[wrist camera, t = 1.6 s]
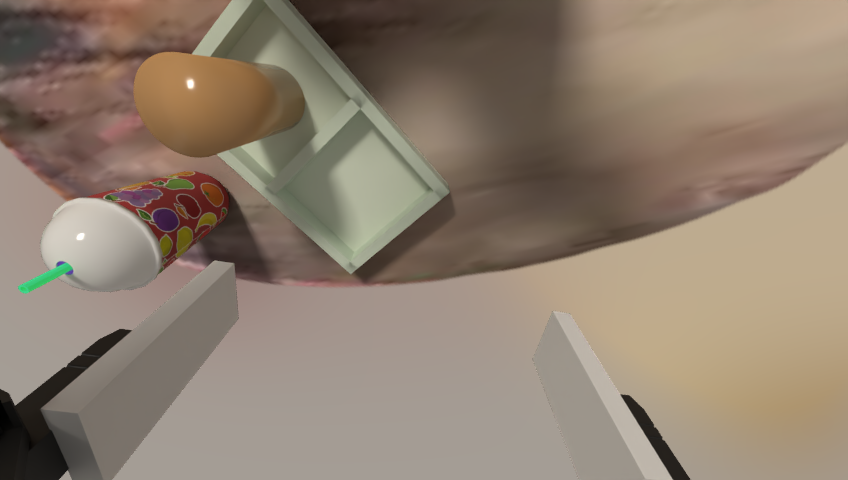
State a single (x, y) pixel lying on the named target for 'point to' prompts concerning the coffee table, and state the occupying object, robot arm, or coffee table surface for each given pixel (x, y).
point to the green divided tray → (325, 140)
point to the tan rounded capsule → (214, 102)
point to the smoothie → (129, 232)
